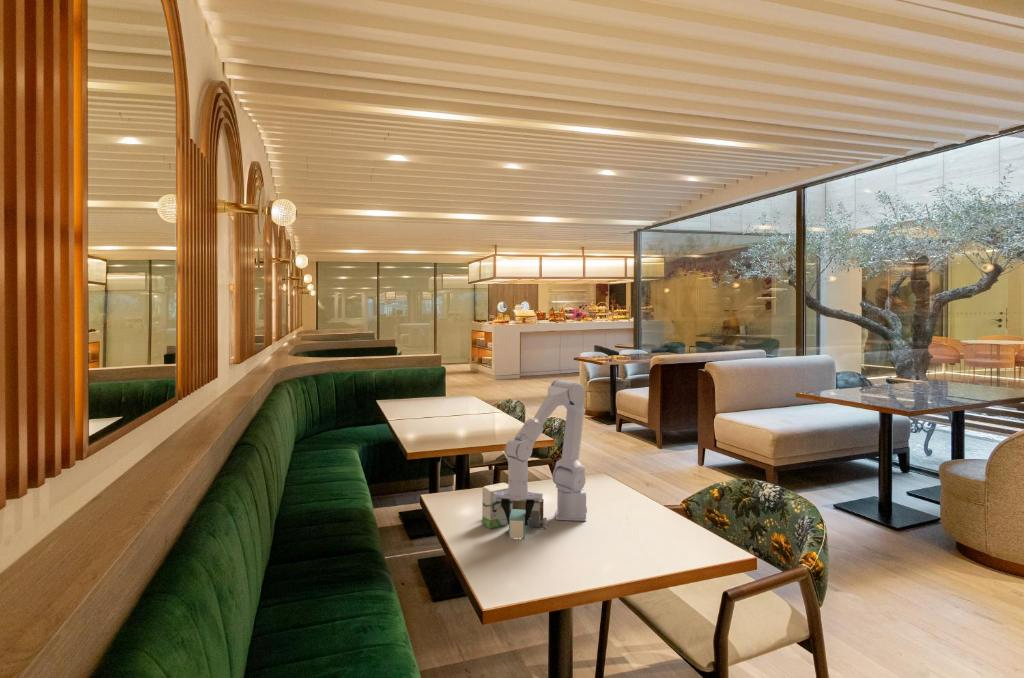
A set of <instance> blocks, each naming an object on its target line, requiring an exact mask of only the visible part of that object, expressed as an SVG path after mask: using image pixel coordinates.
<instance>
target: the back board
mask: <svg viewBox="0 0 1024 678" xmlns="http://www.w3.org/2000/svg"><path fill="white" fill-rule="evenodd" d="M535 502H539V501H535ZM525 504H526V501H514V500H513V509H523V510H526V507H525ZM540 518H544V498H542V502H540ZM529 519H531V513H530V516H529Z"/></svg>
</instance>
